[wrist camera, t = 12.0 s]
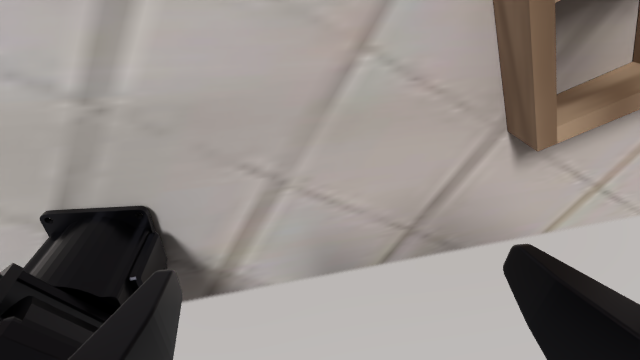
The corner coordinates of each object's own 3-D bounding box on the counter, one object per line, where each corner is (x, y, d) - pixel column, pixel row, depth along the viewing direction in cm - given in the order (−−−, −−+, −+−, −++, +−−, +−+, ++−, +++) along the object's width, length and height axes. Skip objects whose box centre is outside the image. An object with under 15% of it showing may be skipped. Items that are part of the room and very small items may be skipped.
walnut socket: (507, 131, 22) (537, 151, 20) (491, -15, 17) (528, -13, 15) (649, 70, 21) (700, 84, 19) (676, -104, 16) (749, -118, 14)
